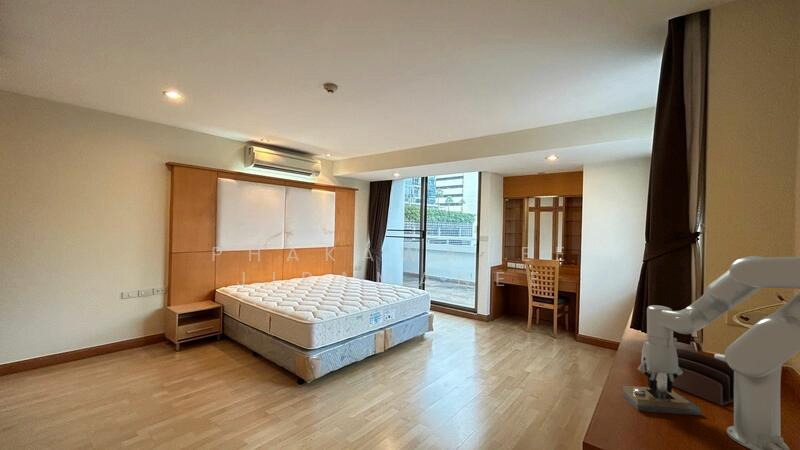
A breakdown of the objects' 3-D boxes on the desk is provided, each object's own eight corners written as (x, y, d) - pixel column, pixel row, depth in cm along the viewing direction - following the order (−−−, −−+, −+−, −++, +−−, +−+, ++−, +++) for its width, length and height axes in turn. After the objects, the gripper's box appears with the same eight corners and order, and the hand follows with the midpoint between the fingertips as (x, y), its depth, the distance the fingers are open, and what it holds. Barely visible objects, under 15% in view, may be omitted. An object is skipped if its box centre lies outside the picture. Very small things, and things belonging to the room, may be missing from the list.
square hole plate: (682, 400, 122) (682, 386, 122) (701, 415, 112) (701, 401, 112) (623, 395, 126) (623, 382, 126) (637, 410, 116) (637, 396, 116)
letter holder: (676, 378, 140) (676, 345, 140) (737, 401, 122) (737, 363, 122) (661, 382, 137) (661, 348, 137) (722, 406, 118) (721, 367, 118)
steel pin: (670, 401, 117) (670, 373, 117) (656, 400, 117) (656, 372, 117) (662, 394, 121) (662, 368, 121) (649, 393, 122) (649, 367, 122)
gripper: (679, 338, 121) (679, 387, 121) (628, 335, 124) (629, 383, 124) (693, 345, 114) (693, 397, 114) (639, 342, 117) (640, 393, 117)
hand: (659, 389), depth 119 cm, fingers closed on steel pin, 4 cm apart
